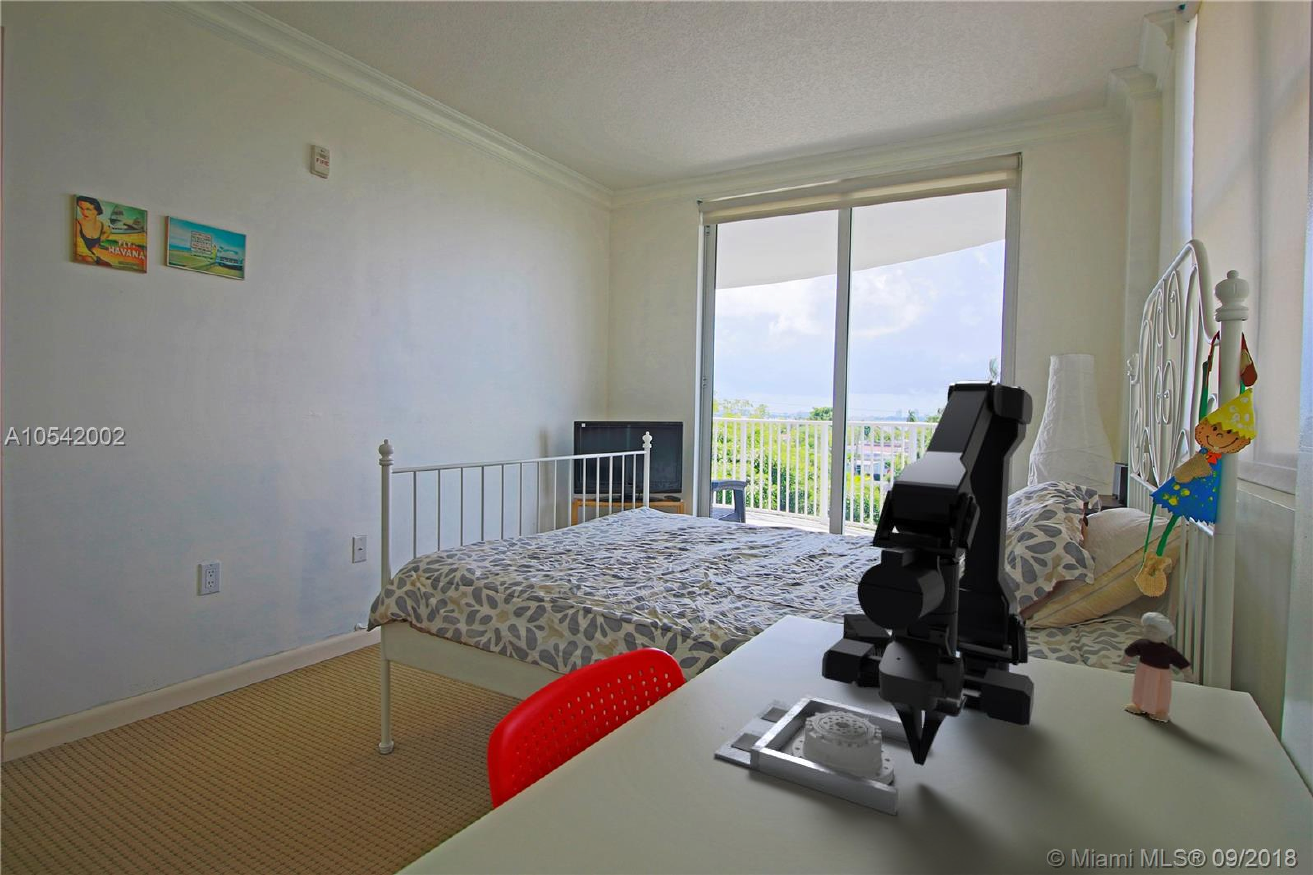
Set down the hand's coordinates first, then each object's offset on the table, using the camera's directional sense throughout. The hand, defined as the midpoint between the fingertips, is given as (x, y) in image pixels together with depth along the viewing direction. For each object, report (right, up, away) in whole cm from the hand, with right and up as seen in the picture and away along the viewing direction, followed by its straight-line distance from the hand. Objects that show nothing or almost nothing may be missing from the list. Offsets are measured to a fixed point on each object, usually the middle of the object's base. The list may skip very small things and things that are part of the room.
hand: (920, 763), depth 66 cm
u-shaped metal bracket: (-8, -1, +5) cm, 10 cm away
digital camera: (+3, -1, +28) cm, 28 cm away
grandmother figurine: (+35, -2, +16) cm, 38 cm away
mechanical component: (-7, -2, +2) cm, 8 cm away
